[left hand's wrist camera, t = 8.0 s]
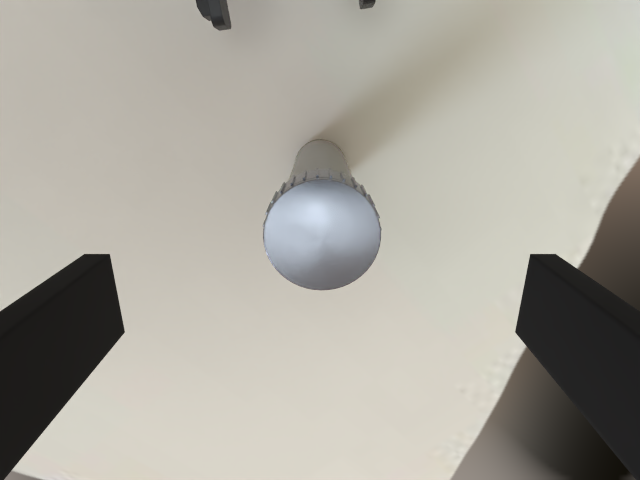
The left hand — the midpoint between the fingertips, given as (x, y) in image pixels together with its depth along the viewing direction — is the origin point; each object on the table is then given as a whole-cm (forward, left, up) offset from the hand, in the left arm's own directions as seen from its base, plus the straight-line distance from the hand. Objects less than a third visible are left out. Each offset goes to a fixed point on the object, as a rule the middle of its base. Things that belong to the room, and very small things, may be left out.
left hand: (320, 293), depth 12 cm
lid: (0, 0, -5) cm, 5 cm away
